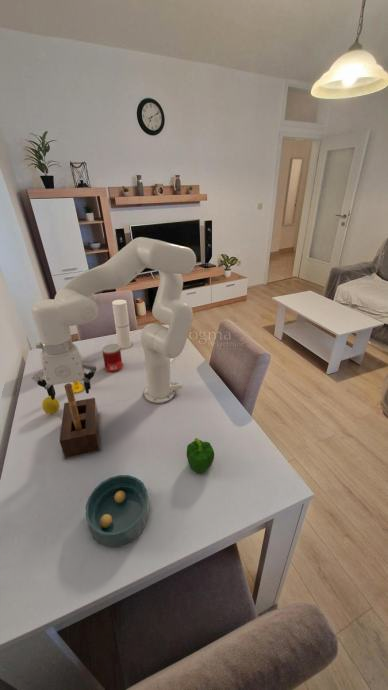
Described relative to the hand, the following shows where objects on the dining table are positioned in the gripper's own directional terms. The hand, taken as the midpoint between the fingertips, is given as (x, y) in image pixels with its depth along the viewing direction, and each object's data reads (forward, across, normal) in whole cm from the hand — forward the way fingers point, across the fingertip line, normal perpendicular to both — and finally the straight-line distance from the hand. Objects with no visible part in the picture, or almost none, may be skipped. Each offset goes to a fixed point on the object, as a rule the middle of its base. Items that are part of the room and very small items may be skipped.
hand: (71, 393), depth 84 cm
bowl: (+20, +10, -29) cm, 37 cm away
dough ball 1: (+18, +6, -31) cm, 36 cm away
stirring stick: (+20, 0, -1) cm, 20 cm away
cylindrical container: (+21, +20, +63) cm, 69 cm away
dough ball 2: (+18, +10, -25) cm, 33 cm away
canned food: (+21, +13, +42) cm, 48 cm away
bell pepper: (+21, +35, -21) cm, 46 cm away
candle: (+21, -3, +30) cm, 36 cm away
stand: (+20, 0, +3) cm, 21 cm away
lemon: (+21, -11, +17) cm, 29 cm away
